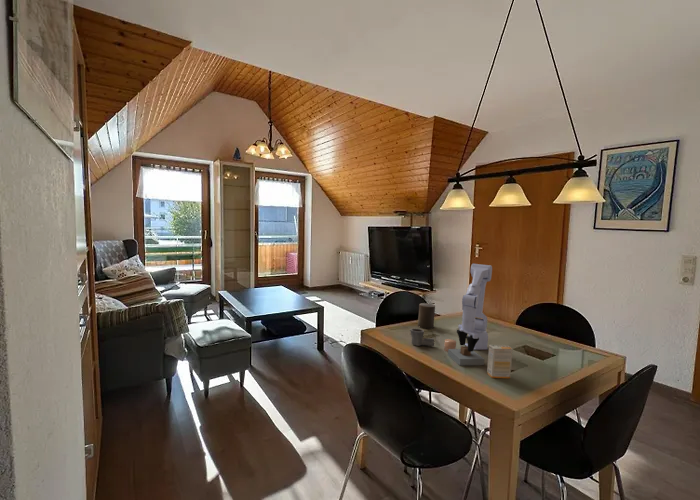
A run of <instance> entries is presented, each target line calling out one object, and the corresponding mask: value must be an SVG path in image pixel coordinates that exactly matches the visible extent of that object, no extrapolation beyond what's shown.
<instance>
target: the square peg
mask: <svg viewBox="0 0 700 500" xmlns="http://www.w3.org/2000/svg"><path fill="white" fill-rule="evenodd" d="M460 349H461V351H460V353H461V354H462V355H463V356H471V352H469V351H468V346H466V345H460Z"/></svg>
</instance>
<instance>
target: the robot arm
mask: <svg viewBox="0 0 700 500" xmlns="http://www.w3.org/2000/svg"><path fill="white" fill-rule="evenodd" d="M470 274H471V275H470V276H471V278H472V280H471V283H469V285H468V286H467V289H466V293H465V294H464V295H463V296H462V298H461V299H462V300H461V305H462V306H461V307H462V308H461V309H462V310H461V311H462V317H461V319H462V320H461V324H458V328H457V329H456V333H457V336H458V340H459V345H460V346H468V351H469V352H473V351H475V350H478V351H479V350H489V347H488V346H489V343H488V342H489V334H488V331H487V330H488V328H487V327H488V316H487V315H486V314H485V313H483V310H484V303H485V301H484V300H485V294H486V286H487V282H491V280H492V274H493V266H492V265H490V264H489V265H488V264H480V263H479V264H478V263H472V264H471V266H470Z"/></svg>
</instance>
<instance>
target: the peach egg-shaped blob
mask: <svg viewBox="0 0 700 500" xmlns="http://www.w3.org/2000/svg"><path fill="white" fill-rule="evenodd" d="M443 344H444V346H443V347H444V348H443V350H444V351H445V352H447V353H448V349H457V341H456V340H455V339H452V338H446V339H444V343H443Z"/></svg>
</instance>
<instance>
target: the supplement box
mask: <svg viewBox="0 0 700 500" xmlns="http://www.w3.org/2000/svg"><path fill="white" fill-rule="evenodd" d="M513 350H514V349H513V348H512V347H511V346H509V345H508V344H488V354H487V355H488V356H487V357H488V358H487V369H486V374H487V375H488V376H489V377H490V379H511V371H512V360H513Z"/></svg>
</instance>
